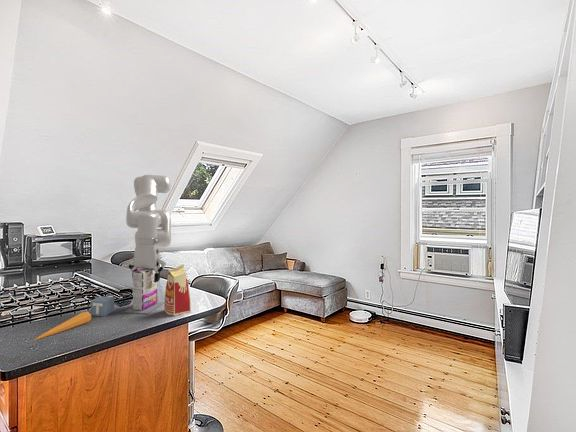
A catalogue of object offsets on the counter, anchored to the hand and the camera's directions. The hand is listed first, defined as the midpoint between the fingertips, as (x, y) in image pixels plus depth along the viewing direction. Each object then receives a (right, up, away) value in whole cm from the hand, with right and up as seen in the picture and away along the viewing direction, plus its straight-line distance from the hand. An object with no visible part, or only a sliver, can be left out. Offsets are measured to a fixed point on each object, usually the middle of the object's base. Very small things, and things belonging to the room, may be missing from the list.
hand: (146, 280), depth 140 cm
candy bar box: (0, -11, 0) cm, 11 cm away
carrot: (-18, -12, -27) cm, 34 cm away
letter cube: (-14, -12, -9) cm, 20 cm away
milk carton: (+15, -13, -4) cm, 20 cm away
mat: (0, -12, 0) cm, 12 cm away
